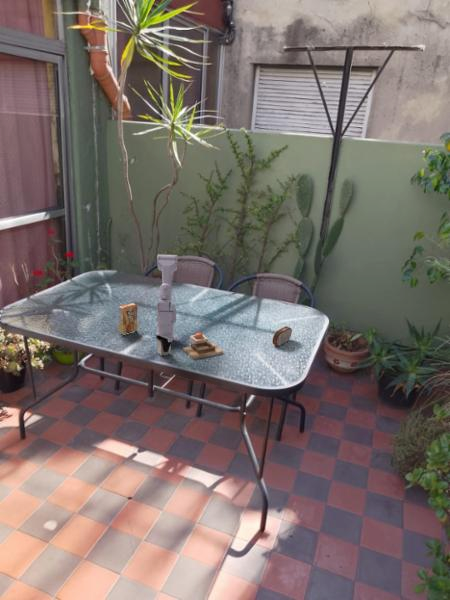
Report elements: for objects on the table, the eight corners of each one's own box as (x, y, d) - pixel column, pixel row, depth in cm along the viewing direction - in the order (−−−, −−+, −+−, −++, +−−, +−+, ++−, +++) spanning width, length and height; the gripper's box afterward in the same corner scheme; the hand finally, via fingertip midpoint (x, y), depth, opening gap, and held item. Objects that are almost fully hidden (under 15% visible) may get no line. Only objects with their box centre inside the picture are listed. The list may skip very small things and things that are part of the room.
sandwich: (286, 338, 241) (288, 323, 238) (292, 340, 239) (293, 325, 236) (271, 347, 230) (272, 331, 227) (276, 348, 228) (278, 333, 225)
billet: (157, 352, 216) (157, 339, 214) (167, 350, 219) (167, 337, 216) (160, 356, 213) (161, 342, 211) (170, 354, 216) (170, 340, 213)
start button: (194, 339, 230) (194, 333, 229) (200, 338, 232) (200, 332, 230) (197, 342, 227) (197, 335, 226) (203, 341, 229) (203, 334, 228)
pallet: (182, 349, 221) (182, 343, 220) (211, 343, 229) (211, 338, 228) (194, 359, 211) (194, 353, 210) (223, 353, 219) (223, 347, 218)
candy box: (132, 329, 241) (132, 302, 236) (137, 332, 238) (137, 304, 233) (119, 333, 235) (118, 306, 229) (123, 336, 232) (123, 308, 227)
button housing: (189, 341, 231) (189, 335, 230) (201, 338, 234) (201, 333, 233) (195, 346, 225) (196, 341, 224) (208, 344, 229) (208, 338, 228)
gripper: (150, 319, 214) (150, 345, 219) (162, 330, 203) (162, 357, 207) (163, 317, 218) (163, 342, 223) (176, 328, 206) (176, 354, 211)
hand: (164, 349), depth 215 cm, fingers closed on billet, 4 cm apart
